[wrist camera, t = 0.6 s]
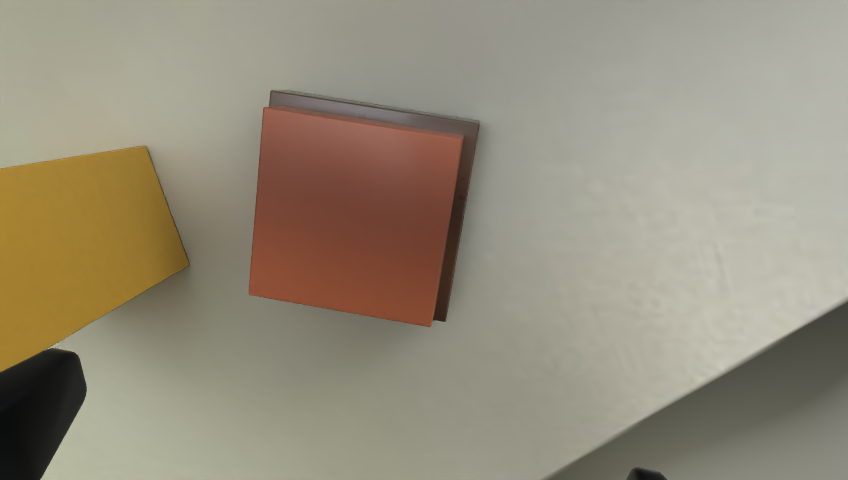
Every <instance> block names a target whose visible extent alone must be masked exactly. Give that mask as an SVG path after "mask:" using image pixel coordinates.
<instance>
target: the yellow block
mask: <svg viewBox="0 0 848 480" xmlns="http://www.w3.org/2000/svg"><path fill="white" fill-rule="evenodd" d="M188 265H189V262H188V259H187V256H186V254H185V251H184V248H183V246H182V243H181V240H180V238H179V235H178V232H177V230H176V227H175V224H174V221H173V219H172V216H171V213H170V211H169V208H168V205H167V203H166V200H165V197H164V194H163V192H162V189H161V186H160V184H159V181H158V178H157V176H156V173H155V170H154V167H153V165H152V162H151V159H150V157H149V154H148V151H147V149H146V146H138V147H132V148H126V149H120V150H113V151H107V152H101V153H95V154H88V155H82V156H76V157H70V158H63V159H57V160H51V161H45V162H38V163H32V164H26V165H20V166H13V167H7V168H1V169H0V372H1V371H3V370H5V369H7V368H10V367H12V366H14V365H16V364H18V363H20V362H22V361H24V360H26V359H28V358H30V357H32V356H34V355H36V354H38V353H40V352H42V351H44V350H46V349H47V348H49V347H51V346H52V345H54V344H56V343H58V342H59V341H61V340H63V339H64V338H66V337H68V336H69V335H71V334H73V333H75V332H76V331H78V330H80V329H81V328H83V327H85V326H86V325H88V324H90V323H91V322H93V321H95V320H97V319H98V318H100V317H102V316H103V315H105V314H107V313H108V312H110V311H112V310H114V309H115V308H117V307H119V306H120V305H122V304H124V303H125V302H127V301H129V300H131V299H132V298H134V297H136V296H137V295H139V294H141V293H142V292H144V291H146V290H147V289H149V288H151V287H153V286H154V285H156V284H158V283H159V282H161V281H163V280H164V279H166V278H168V277H170V276H171V275H173V274H175V273H176V272H178V271H180V270H181V269H183V268H185V267H186V266H188Z"/></svg>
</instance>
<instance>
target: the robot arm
mask: <svg viewBox="0 0 848 480" xmlns="http://www.w3.org/2000/svg"><path fill="white" fill-rule="evenodd" d="M86 391H87V386H86V382H85V378H84V374H83V370H82V366H81V362H80V358H79V356H78V355H77V354H76V353H74V352H71V351H66V350H61V349H56V348H51V349H47V350H45V351H42V352H40V353H38V354H36V355H34V356H32V357H30V358H28V359H26V360H24V361H22V362H20V363H18V364H16V365H14V366H12V367H10V368H7V369H5V370H3V371H1V372H0V480H40V479H41V478H42V476H43V474H44V472H45V471H46V469H47V467H48V465H49V463H50V462H51V460H52V458H53V456H54V454H55V453H56V451H57V449H58V447H59V445H60V444H61V442H62V440H63V438H64V436H65V435H66V433H67V431H68V429H69V427H70V426H71V424H72V422H73V420H74V418H75V417H76V415H77V413H78V411H79V409H80V408H81V406H82V404H83V402H84V400H85V397H86ZM627 480H667V479H666V478H665V477H664V476H663V475H662V474H661V473H660V472H657V471H654V470H649V469H644V468H639V467H635V468H633V469H632V470H631V472H630V473H629V475H628V477H627Z"/></svg>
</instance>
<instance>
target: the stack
mask: <svg viewBox="0 0 848 480" xmlns="http://www.w3.org/2000/svg"><path fill="white" fill-rule="evenodd" d="M479 124H480V121H478V120H472V119H465V118H459V117H453V116H446V115H440V114H434V113H427V112H421V111H415V110H408V109H402V108H396V107H389V106H383V105H377V104H370V103H364V102H358V101H351V100H345V99H339V98H332V97H326V96H320V95H313V94H307V93H301V92H294V91H288V90H272V91H271V92H270V103H269V107H264V109H263V120H262V133H261V145H260V158H259V170H258V183H257V195H256V208H255V220H254V233H253V245H252V258H251V271H250V283H249V295H253V296H259V297H264V298H270V299H276V300H281V301H287V302H293V303H298V304H304V305H309V306H315V307H321V308H326V309H332V310H337V311H343V312H349V313H354V314H360V315H365V316H371V317H377V318H382V319H388V320H393V321H399V322H405V323H410V324H416V325H421V326H427V327H431V326H432V321H433V320H437V321H443V322H445V321H446V318H447V312H448V306H449V300H450V294H451V288H452V283H453V277H454V271H455V265H456V259H457V253H458V247H459V242H460V236H461V230H462V224H463V218H464V212H465V206H466V201H467V195H468V189H469V183H470V177H471V171H472V165H473V160H474V154H475V148H476V142H477V136H478V130H479Z"/></svg>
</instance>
